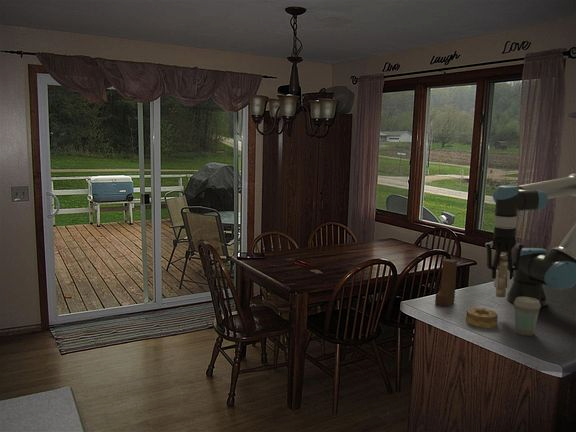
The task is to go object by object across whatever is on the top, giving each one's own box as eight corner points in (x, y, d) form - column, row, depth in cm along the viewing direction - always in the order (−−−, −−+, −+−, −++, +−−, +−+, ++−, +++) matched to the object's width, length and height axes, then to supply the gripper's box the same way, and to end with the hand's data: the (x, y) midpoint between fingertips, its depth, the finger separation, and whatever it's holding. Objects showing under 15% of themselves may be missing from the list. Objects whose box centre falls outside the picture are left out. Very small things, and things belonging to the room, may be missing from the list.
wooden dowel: (504, 294, 186) (506, 254, 184) (506, 297, 183) (509, 256, 180) (494, 294, 187) (497, 254, 184) (496, 297, 183) (499, 256, 181)
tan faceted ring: (491, 318, 182) (492, 308, 182) (499, 328, 173) (500, 317, 172) (464, 316, 184) (465, 306, 183) (470, 326, 174) (470, 315, 174)
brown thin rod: (470, 308, 194) (470, 307, 194) (473, 308, 194) (473, 307, 194) (476, 317, 183) (476, 316, 183) (480, 317, 183) (480, 316, 183)
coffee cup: (536, 339, 164) (540, 305, 162) (509, 333, 168) (512, 300, 166) (539, 331, 171) (542, 298, 169) (512, 326, 175) (515, 294, 174)
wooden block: (445, 307, 195) (448, 264, 192) (434, 304, 198) (437, 262, 195) (454, 302, 201) (457, 260, 198) (444, 299, 204) (447, 258, 202)
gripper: (525, 225, 183) (520, 285, 187) (479, 224, 186) (476, 283, 189) (531, 229, 176) (527, 290, 179) (484, 228, 178) (481, 289, 182)
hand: (501, 286), depth 184 cm, fingers closed on wooden dowel, 3 cm apart
